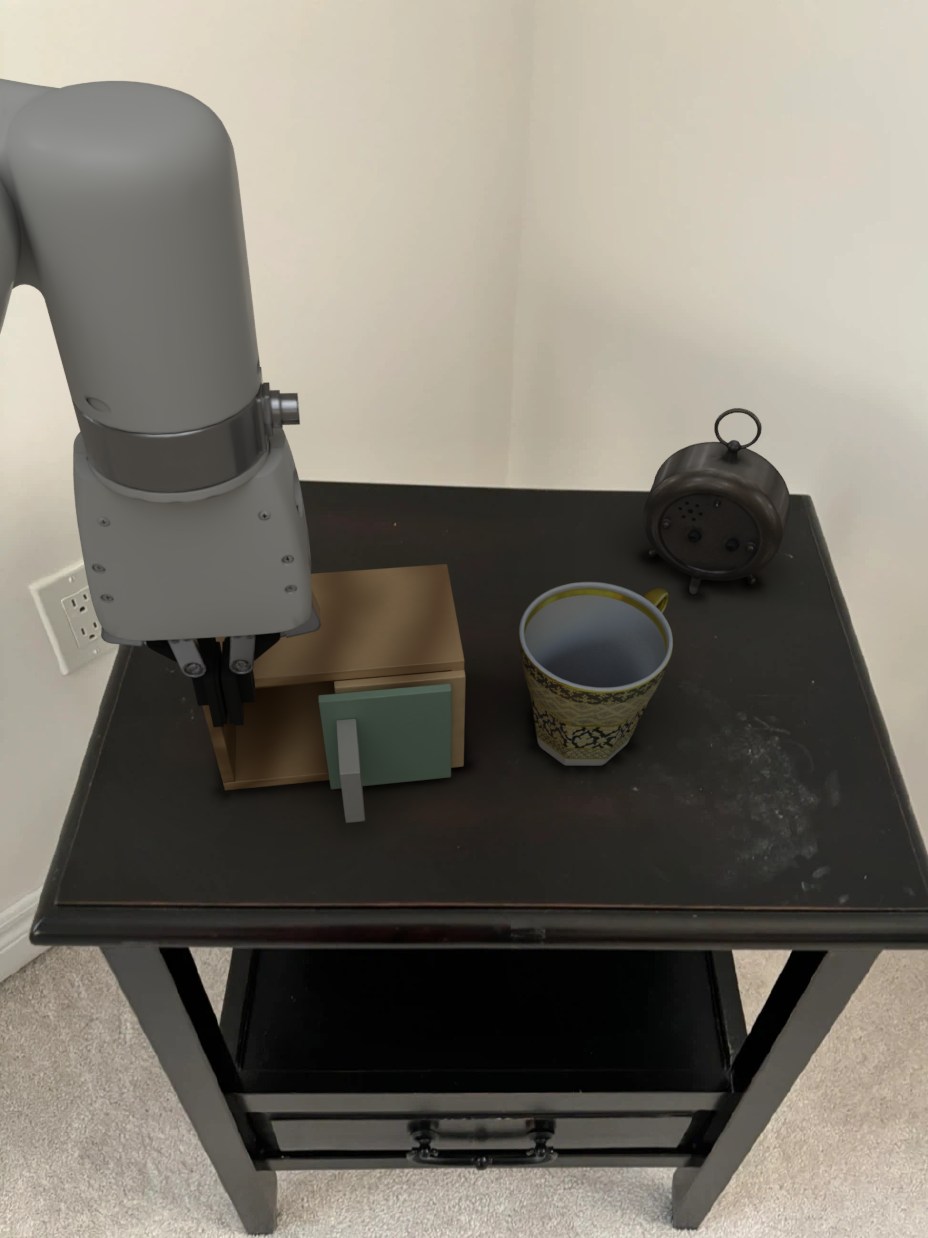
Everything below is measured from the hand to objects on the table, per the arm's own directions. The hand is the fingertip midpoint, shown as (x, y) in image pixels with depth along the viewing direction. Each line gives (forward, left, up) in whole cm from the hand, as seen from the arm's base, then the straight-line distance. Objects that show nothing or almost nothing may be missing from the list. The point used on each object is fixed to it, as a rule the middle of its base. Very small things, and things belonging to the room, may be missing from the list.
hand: (229, 706), depth 57 cm
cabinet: (+6, +9, -13) cm, 16 cm away
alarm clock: (+36, +21, -13) cm, 43 cm away
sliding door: (+9, +1, -12) cm, 15 cm away
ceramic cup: (+24, +7, -13) cm, 28 cm away
